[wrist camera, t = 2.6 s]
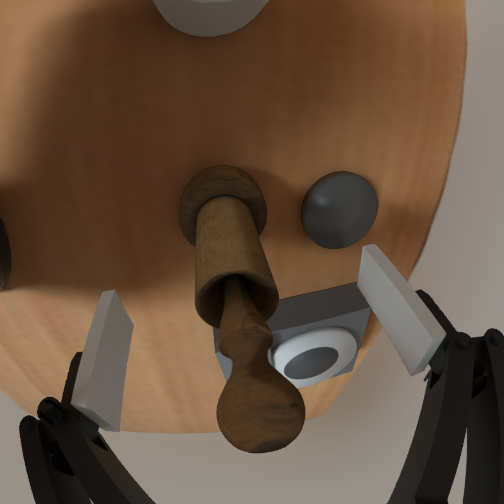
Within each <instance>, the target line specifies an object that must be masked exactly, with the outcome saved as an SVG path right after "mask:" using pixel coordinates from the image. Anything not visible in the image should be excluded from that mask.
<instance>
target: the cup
mask: <svg viewBox="0 0 504 504" xmlns="http://www.w3.org/2000/svg"><path fill="white" fill-rule="evenodd" d="M268 1H269V0H153V2H154V4H155V5H156V7H157V9H158V10H159V12H160V13H161V15H162V16H163V17H164V19H165V20H166V21H167V22H168V23H169V24H170V25H172V26H173V27H174V28H175V29H177V30H179V31H181V32H184V33H186V34H189V35H194V36H200V37H216V36H220V35H225V34H229V33H232V32H234V31H236V30H238V29H240V28H242V27H244V26H245V25H246V24H248V23H249V22H250V21H252V20H253V19H254V18H255V17H256V16H257V14H258V13H259V12H260V11H261V10H262V8H263V7H264V6H265V5H266V4H267V3H268Z"/></svg>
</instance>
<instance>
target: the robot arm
mask: <svg viewBox="0 0 504 504" xmlns="http://www.w3.org/2000/svg"><path fill="white" fill-rule="evenodd" d="M10 268H11V257H10V249H9V244H8V240H7V236H6V233H5V230H4V227H3V225H2V222H1V220H0V291H1V289H2V288H3V286H4V285H5V283H6V281H7V280H8V277H9V274H10ZM357 286H358V288H359V289H360V291H361V293H362V294H363V296H364V297H365V299H366V300H367V302H368V304H369V305H370V307H371V308H372V310H373V312H374V313H375V315H376V317H377V318H378V320H379V322H380V323H381V325H382V326H383V328H384V330H385V332H386V333H387V335H388V336H389V338H390V340H391V342H392V343H393V345H394V347H395V349H396V350H397V352H398V354H399V356H400V357H401V359H402V361H403V363H404V364H405V366H406V368H407V370H408V372H409V374H410V376H413V375H415V374H418V373H420V372H422V371H424V370H425V368H426V367H427V365H428V364H429V365H430V367H431V370H430V371H429V372H428V374H427V375H426V377H425V379H424V381H426V380H427V379H428V382H427V387H426V392H425V396H424V401H423V405H422V409H421V413H420V416H419V420H418V424H417V427H416V430H415V434H414V437H413V441H412V444H411V447H410V449H409V452H408V455H407V458H406V461H405V464H404V466H403V469H402V471H401V474H400V476H399V479H398V481H397V483H396V486H395V488H394V490H393V493H392V495H391V497H390V499H389V501H388V503H387V504H448V500H447V499H448V496H449V493H450V490H451V487H452V484H453V481H454V478H455V474H456V471H457V467H458V464H459V460H460V456H461V451H462V448H463V443H464V438H465V434H466V428H467V463H466V464H467V465H466V478H465V489H464V497H463V504H504V336H503V334H502V333H501V332H500V331H499V330H497V329H493V328H491V329H488V330H487V331H486V333H485V334H484V336H482V337H473V338H471V337H470V336H469V335H468V334H466V333H463V332H457V331H456V330H455V328H454V327H453V326H452V324H451V323H450V321H449V320H448V319H447V317H446V316H445V315H444V313H443V312H442V311H441V310H440V309H439V307H438V306H437V304H435V302H434V301H433V299H432V298H431V297H430V296H429V295H428V294H427V293H425V292H424V291H422V290H421V289H420V290H417V291H414V290H413V288H412V287H411V286H410V285H409V283H408V282H407V281H406V280H405V278H404V277H403V276H402V275H401V274H400V272H399V271H398V270H397V269H396V268H395V266H394V265H393V264H392V263H391V262H390V260H389V259H388V258H387V257H386V256H385V255H384V253H383V252H382V251H381V250H380V249H379V248H378V247H377V246H376V244H370V245H365V246H363V248H362V256H361V262H360V269H359V275H358V281H357ZM133 326H134V325H133V323H132V321H131V319H130V318H129V316H128V314H127V312H126V310H125V309H124V307H123V305H122V303H121V301H120V299H119V297H118V295H117V293H116V291H115V290H109V291H103V292H102V294H101V297H100V300H99V303H98V306H97V309H96V312H95V315H94V318H93V321H92V324H91V327H90V330H89V333H88V337H87V340H86V343H85V347H84V350H83V352H77V353H76V354H75V356H74V358H73V359H72V361H71V364H70V368H69V372H68V375H67V379H66V383H65V387H64V391H63V396H62V400H61V403H60V402H59V401H58V400H57V399H55V398H53V397H47V398H45V399H43V400H42V401H41V402H40V404H39V406H38V410H37V415H38V418H40V420H37V419H36V418H35V417H33V416H30V415H28V416H25V417H24V418H23V419H22V420H21V422H20V426H19V432H20V439H21V446H22V451H23V457H24V461H25V466H26V471H27V474H28V479H29V482H30V486H31V490H32V493H33V496H34V500H35V503H36V504H92V503H91V501H92V502H93V503H94V504H156V503H155V502H154V501H152V499H151V498H150V497H149V496H148V495H147V494H146V493H145V491H143V489H142V488H141V487H140V486H139V485H138V484H137V482H136V481H135V480H134V479H133V477H132V476H131V475H130V474H129V472H128V471H127V470H126V469H125V467H124V466H123V465H122V464H121V462H120V461H119V460H118V458H117V457H116V455H115V454H114V453H113V451H112V450H111V448H110V447H109V446H108V444H107V443H106V441H105V440H104V438H103V437H102V435H101V434H100V433H99V432H98V429H99V427H101V428H102V429H103V430H105V431H115V432H116V431H117V432H119V431H120V419H121V408H122V399H123V390H124V382H125V375H126V368H127V361H128V355H129V349H130V343H131V337H132V332H133ZM90 499H91V501H90Z"/></svg>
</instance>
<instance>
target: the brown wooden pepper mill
mask: <svg viewBox="0 0 504 504" xmlns="http://www.w3.org/2000/svg"><path fill="white" fill-rule="evenodd" d="M266 219H267V208H266V203H265V200H264V198H263V195H262V193H261V191H260V189H259V187H258V185H257V184H256V182H255V181H254V180H253V178H252V177H251V176H249V175H248V174H247V173H245V172H244V171H242V170H240V169H238V168H235V167H231V166H215V167H211V168H208V169H205V170H203V171H202V172H200V173H198V174H197V175H196V176H195V177H194V178H193V179H192V180H191V181H190V182H189V183H188V185H187V186H186V188H185V190H184V193H183V195H182V199H181V205H180V211H179V221H180V226H181V229H182V232H183V234H184V235H185V237H186V238H187V240H188V241H189V242H190V243H191V244H192V245H193V246H194V247H196V266H195V307H196V310H197V312H198V314H199V316H200V317H201V318H202V319H203V320H204V321H205V322H206V323H208V324H209V325H211V326H213V327H215V328H217V329H219V333H218V349H219V351H220V353H221V354H222V355H223V356H225V357H227V358H229V359H231V361H232V372H231V375H230V377H229V379H228V381H227V383H226V385H225V387H224V389H223V392H222V394H221V396H220V398H219V401H218V404H217V421H218V425H219V428H220V430H221V432H222V434H223V435H224V437H225V438H226V439H227V440H228V441H229V442H230V443H231V444H232V445H233V446H234V447H236V448H238V449H240V450H242V451H245V452H249V453H266V452H272V451H276V450H279V449H282V448H284V447H286V446H287V445H289V444H290V443H291V442H292V441H293V440H295V439H296V437H297V436H298V435H299V433H300V432H301V430H302V427H303V425H304V421H305V405H304V401H303V398H302V396H301V394H300V392H299V391H298V389H297V388H296V387H295V386H294V385H293V384H292V383H291V382H290V381H289V380H288V379H287V378H286V377H284V376H283V375H282V374H281V373H280V372H279V371H278V370H276V369H275V368H274V367H273V366H272V365H271V364H270V362H269V360H268V350H269V349H270V348H271V346H272V344H273V335H272V332H271V330H270V328H269V326H268V324H267V323H266V321H267V320H268V319H270V318H271V317H272V315H273V314H274V313H275V311H276V309H277V307H278V303H279V294H278V290H277V287H276V284H275V282H274V279H273V276H272V273H271V271H270V268H269V265H268V262H267V259H266V257H265V254H264V251H263V248H262V245H261V242H260V239H259V236H260V234H261V233H262V231H263V229H264V227H265V224H266Z"/></svg>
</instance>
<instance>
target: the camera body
mask: <svg viewBox="0 0 504 504" xmlns="http://www.w3.org/2000/svg"><path fill="white" fill-rule="evenodd" d="M370 312H371V307H370V305H369V304H368V302H367V300H366V299H365V297H364V296H363V294H362V293H361V291H360V289H359V288H358V286H357V283H356V282H355V283H351V284H347V285H342V286H338V287H334V288H330V289H325V290H321V291H317V292H312V293H308V294H303V295H299V296H294V297H289V298H284V299H280V300H279V303H278V307H277V309H276V311H275V313H274V314H273V315H272V317H271V318H270V319H268V320H267V321H266V323H267V324H268V326H269V328H270V330H271V332H272V335H273V344H272V346H271V348H270V349H269V350H268V360H269V362H270V364H271V365H272V366H273V367H274V368H275V369H276V370H278V371H279V372H280V373H281V374H282V375H283V376H284V377H286V378H287V379H288V380H289V381H290V382H291V383H292V384H293V385H294V386H295V387H296V388H301V387H306V386H310V385H314V384H317V383H319V382H322V381H324V380H326V379H328V378H331V377H335V376H338V375H341V374H344V373H347V372H351V371H352V369H353V367H354V364H355V361H356V358H357V355H358V352H359V349H360V346H361V343H362V339H363V336H364V333H365V329H366V326H367V323H368V319H369V316H370ZM213 333H214V344H215V353H216V356H217V358H218V361H219V364H220V366H221V369H222V372H223V374H224V377H225V379H226V382H227V381H228V379H229V377H230V375H231V372H232V361H231V359H229V358H227V357H225V356H223V355H222V354H221V353H220V351H219V349H218V333H219V329H217V328H215V327H213Z"/></svg>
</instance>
